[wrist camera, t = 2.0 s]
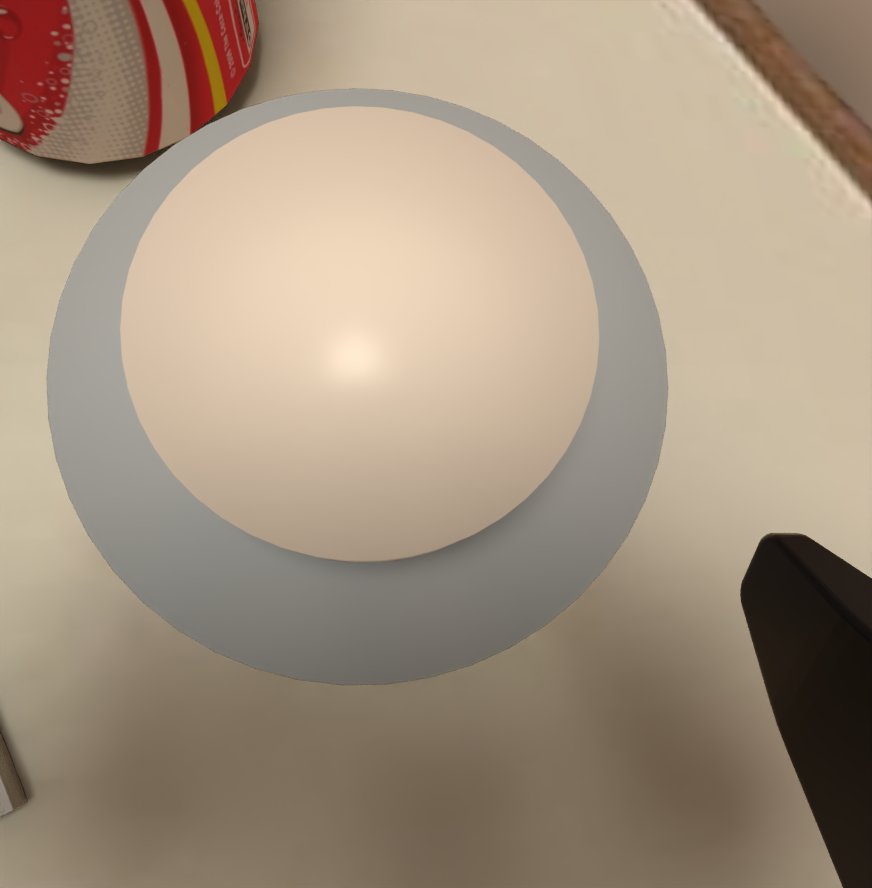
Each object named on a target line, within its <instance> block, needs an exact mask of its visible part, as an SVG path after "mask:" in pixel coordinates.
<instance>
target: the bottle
mask: <svg viewBox="0 0 872 888" xmlns="http://www.w3.org/2000/svg"><path fill="white" fill-rule="evenodd" d="M667 398H668V378H667V363H666V349H665V344H664V340H663V335H662V330H661V325H660V320H659V315H658V311H657V308H656V305H655V302H654V299H653V296H652V293H651V290H650V288H649V285H648V282H647V279H646V276H645V274H644V272H643V270H642V268H641V266H640V264H639V262H638V260H637V258H636V256H635V254H634V252H633V250H632V248H631V246H630V244H629V242H628V241H627V239H626V238H625V236H624V235H623V233H622V232H621V230H620V229H619V227H618V226H617V224H616V222H615V221H614V219H613V218H612V216H611V215H610V213H609V212H608V211H607V210H606V209H605V208H604V206H603V205H602V204H601V203H600V202H599V200H598V199H597V198H596V197H595V196H594V194H593V193H592V192H591V191H590V190H589V189H588V187H587V186H586V185H585V184H584V183H583V182H582V181H580V180H579V179H578V178H577V177H576V176H575V175H574V174H573V173H572V172H571V171H570V170H569V169H568V168H567V167H565V166H564V165H563V164H562V163H561V162H560V161H559V160H558V159H556V158H555V157H553V156H552V155H551V154H549V153H548V152H547V151H545V150H544V149H542V148H541V147H540V146H538V145H537V144H536V143H534V142H533V141H532V140H530V139H529V138H527V137H525V136H523V135H521V134H520V133H518V132H516V131H514V130H513V129H511V128H509V127H507V126H506V125H504V124H502V123H500V122H498V121H496V120H494V119H492V118H489V117H487V116H484V115H482V114H480V113H477V112H475V111H472V110H470V109H468V108H465V107H463V106H459V105H456V104H452V103H449V102H445V101H442V100H439V99H435V98H432V97H428V96H423V95H417V94H411V93H405V92H399V91H393V90H377V89H357V88H350V89H336V90H321V91H312V92H307V93H301V94H296V95H291V96H285V97H280V98H276V99H273V100H270V101H266V102H263V103H260V104H257V105H254V106H251V107H247V108H244V109H241V110H239V111H237V112H235V113H232V114H230V115H228V116H226V117H223V118H221V119H219V120H217V121H215V122H212V123H210V124H208V125H206V126H204V127H203V128H201V129H200V130H198V131H196V132H195V133H193V134H191V135H190V136H188V137H186V138H185V139H183V140H181V141H180V142H178V143H176V144H175V145H173V146H172V147H171V148H170V149H168V150H167V151H166V152H165V153H163V154H162V155H161V156H160V157H158V158H157V159H156V160H155V161H153V162H152V163H151V164H149V165H148V166H147V167H146V168H144V169H143V170H142V171H141V172H140V173H139V175H138V176H137V177H136V178H135V179H134V180H133V181H132V182H131V183H130V184H129V185H128V186H127V187H126V188H125V189H124V190H123V191H122V192H121V193H120V194H119V195H118V196H117V197H116V199H115V200H114V201H113V203H112V204H111V205H110V207H109V208H108V209H107V211H106V212H105V213H104V215H103V216H102V217H101V219H100V220H99V221H98V223H97V224H96V225H95V227H94V228H93V230H92V232H91V233H90V235H89V237H88V239H87V240H86V242H85V244H84V246H83V248H82V249H81V251H80V253H79V255H78V257H77V258H76V260H75V262H74V264H73V267H72V269H71V272H70V275H69V277H68V280H67V282H66V285H65V287H64V290H63V292H62V295H61V297H60V301H59V305H58V309H57V313H56V317H55V321H54V325H53V329H52V334H51V338H50V348H49V358H48V368H47V399H48V419H49V425H50V430H51V435H52V441H53V446H54V451H55V456H56V461H57V463H58V466H59V469H60V472H61V475H62V478H63V481H64V484H65V487H66V490H67V493H68V496H69V499H70V501H71V502H72V504H73V506H74V508H75V510H76V512H77V514H78V516H79V518H80V520H81V522H82V524H83V526H84V528H85V530H86V532H87V534H88V536H89V537H90V539H91V540H92V542H93V543H94V544H95V546H96V547H97V549H98V550H99V551H100V553H101V554H102V556H103V557H104V559H105V560H106V561H107V563H108V564H109V566H110V567H111V568H112V570H113V571H114V572H115V573H116V574H117V575H118V576H119V578H120V579H121V580H122V581H123V582H124V583H125V584H126V585H127V586H128V587H129V588H130V589H131V590H132V591H133V592H134V593H135V594H136V596H137V597H138V598H139V599H140V600H141V601H142V602H143V603H144V604H146V605H147V606H148V607H149V608H151V609H152V610H153V611H154V612H156V613H157V614H158V615H159V616H161V617H162V618H163V619H164V620H166V621H167V622H168V623H170V624H171V625H172V626H173V627H175V628H176V629H177V630H179V631H180V632H182V633H184V634H185V635H187V636H189V637H191V638H192V639H194V640H196V641H197V642H199V643H201V644H202V645H204V646H206V647H208V648H209V649H211V650H213V651H214V652H216V653H219V654H221V655H224V656H226V657H229V658H231V659H233V660H236V661H238V662H241V663H243V664H245V665H248V666H250V667H253V668H255V669H258V670H262V671H266V672H270V673H274V674H278V675H281V676H285V677H289V678H293V679H297V680H303V681H311V682H320V683H328V684H337V685H381V684H392V683H399V682H405V681H412V680H418V679H424V678H430V677H434V676H437V675H440V674H444V673H447V672H450V671H454V670H457V669H460V668H464V667H467V666H471V665H473V664H475V663H477V662H480V661H482V660H484V659H486V658H488V657H491V656H493V655H495V654H497V653H499V652H502V651H504V650H506V649H508V648H510V647H512V646H514V645H515V644H517V643H518V642H520V641H521V640H523V639H525V638H526V637H528V636H529V635H531V634H533V633H534V632H536V631H537V630H539V629H541V628H542V627H544V626H545V625H547V624H548V623H549V622H550V621H551V620H553V619H554V618H555V617H556V616H557V615H559V614H560V613H561V612H562V611H563V610H565V609H566V608H567V607H568V606H569V605H571V604H572V603H573V602H574V601H575V600H576V599H578V598H579V596H580V595H581V594H582V593H583V592H584V591H585V590H586V589H587V588H588V587H589V585H590V584H591V583H592V582H593V581H594V580H595V579H596V578H597V577H598V576H599V574H600V573H601V572H602V571H603V570H604V569H605V568H606V566H607V565H608V563H609V562H610V560H611V559H612V557H613V556H614V555H615V553H616V552H617V550H618V549H619V547H620V546H621V544H622V543H623V541H624V540H625V539H626V537H627V536H628V534H629V532H630V530H631V528H632V526H633V524H634V522H635V520H636V518H637V516H638V514H639V512H640V510H641V508H642V506H643V504H644V502H645V500H646V497H647V494H648V491H649V488H650V486H651V483H652V480H653V477H654V474H655V471H656V468H657V465H658V462H659V457H660V452H661V447H662V442H663V437H664V432H665V427H666V414H667Z"/></svg>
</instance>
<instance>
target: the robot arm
mask: <svg viewBox="0 0 872 888" xmlns="http://www.w3.org/2000/svg"><path fill="white" fill-rule="evenodd" d="M740 596H741V603H742V607H743V611H744V614H745V617H746V621H747V624H748V628H749V631H750V635H751V638H752V642H753V645H754V649H755V652H756V655H757V659H758V662H759V666H760V669H761V673H762V676H763V680H764V683H765V687H766V690H767V693H768V697H769V700H770V704H771V707H772V710H773V713H774V716H775V719H776V722H777V725H778V728H779V731H780V733H781V736H782V739H783V741H784V744H785V746H786V749H787V751H788V754H789V756H790V759H791V761H792V764H793V766H794V768H795V771H796V773H797V776H798V778H799V781H800V783H801V786H802V788H803V791H804V793H805V795H806V798H807V800H808V803H809V805H810V808H811V810H812V813H813V815H814V818H815V820H816V822H817V825H818V827H819V830H820V832H821V835H822V837H823V840H824V842H825V845H826V847H827V849H828V852H829V854H830V857H831V859H832V862H833V864H834V867H835V869H836V872H837V874H838V876H839V879H840V881H841V884H842V886H843V888H872V578H870V577H869V576H867V575H866V574H864V573H862V572H861V571H859V570H858V569H856V568H855V567H853V566H852V565H850V564H849V563H847V562H846V561H844V560H843V559H841V558H840V557H838V556H837V555H835V554H834V553H832V552H831V551H829V550H827V549H826V548H824V547H823V546H821V545H820V544H818V543H817V542H815V541H814V540H812V539H811V538H809V537H807V536H806V535H803V534H798V533H770V534H767V535H765V536H764V537H763V538H762V539H761V541H760V542H759V544H758V547H757V549H756V551H755V554H754V556H753V558H752V560H751V563H750V565H749V567H748V569H747V572H746V574H745V576H744V579H743V581H742V584H741V594H740Z"/></svg>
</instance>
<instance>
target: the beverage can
mask: <svg viewBox="0 0 872 888" xmlns="http://www.w3.org/2000/svg"><path fill="white" fill-rule="evenodd" d="M258 25H259V21H258V16H257V10H256V5H255V0H0V139H1V140H3V141H6V142H8V143H10V144H12V145H14V146H16V147H18V148H21V149H23V150H25V151H27V152H29V153H31V154H34V155H36V156H40V157H47V158H53V159H60V160H67V161H74V162H81V163H87V164H92V163H100V162H108V161H115V160H123V159H131V158H138V157H144V156H146V155H148V154H151V153H153V152H155V151H158V150H160V149H162V148H164V147H167V146H169V145H171V144H174V143H176V142H178V141H181V140H183V139H185V138H186V137H188V136H190V135H191V134H193V133H195V132H196V131H197V130H198V129H199V128H201V127H202V126H203V125H204V124H205V123H206V122H208V121H209V120H210V119H211V118H212V117H213V116H215V115H216V114H217V113H218V112H219V111H220V110H222V109H223V108H224V107H225V106H226V105H227V104H228V103H229V101H230V99H231V98H232V96H233V94H234V93H235V91H236V89H237V88H238V86H239V84H240V83H241V81H242V79H243V78H244V76H245V74H246V73H247V71H248V69H249V68H250V66H251V62H252V56H253V51H254V46H255V40H256V35H257V30H258Z"/></svg>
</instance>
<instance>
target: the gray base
mask: <svg viewBox="0 0 872 888" xmlns="http://www.w3.org/2000/svg"><path fill="white" fill-rule="evenodd" d="M26 801H27V799H26V796H25V793H24V791H23V788H22V786H21V783H20V781H19V778H18V776H17V773H16V770H15V768H14V765H13V763H12V760H11V758H10V755H9V753H8V750H7V747H6V745H5V742H4V740H3V737H2V735H1V732H0V817H1V816H3V815H5V814H6V813H8V812H10V811H12V810H14V809H16V808H17V807H19V806H20V805H22V804H23V803H25V802H26Z"/></svg>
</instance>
